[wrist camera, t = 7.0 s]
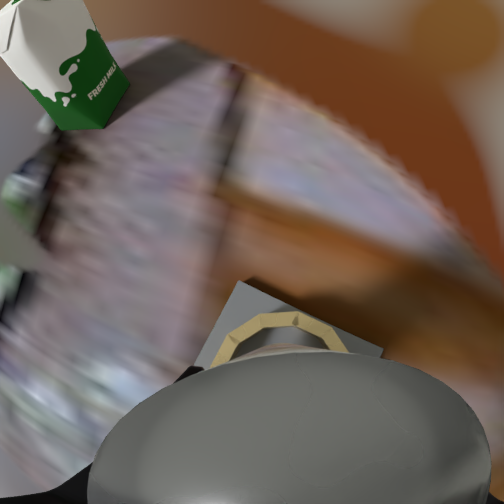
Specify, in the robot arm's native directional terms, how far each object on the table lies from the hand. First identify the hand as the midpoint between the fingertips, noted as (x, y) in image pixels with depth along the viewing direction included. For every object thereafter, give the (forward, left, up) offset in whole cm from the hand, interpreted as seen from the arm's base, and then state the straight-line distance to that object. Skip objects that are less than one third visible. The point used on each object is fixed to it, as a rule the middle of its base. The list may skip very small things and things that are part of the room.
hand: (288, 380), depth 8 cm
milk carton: (+13, +30, -12) cm, 35 cm away
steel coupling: (-1, -1, -7) cm, 7 cm away
